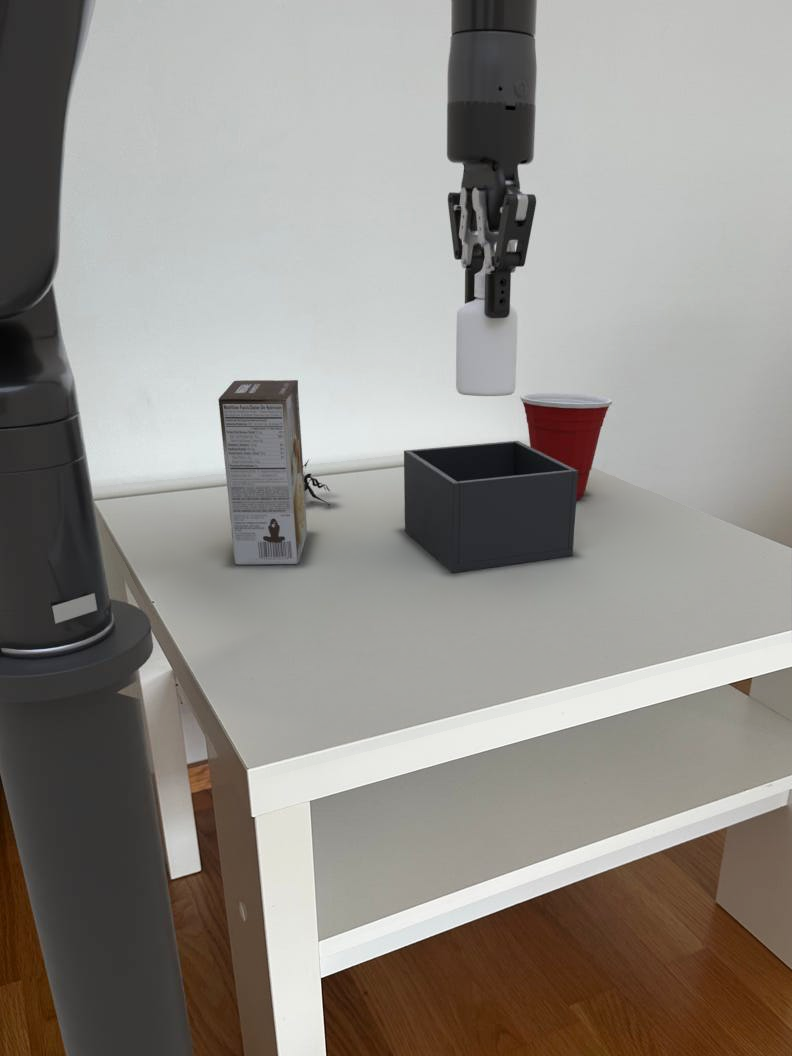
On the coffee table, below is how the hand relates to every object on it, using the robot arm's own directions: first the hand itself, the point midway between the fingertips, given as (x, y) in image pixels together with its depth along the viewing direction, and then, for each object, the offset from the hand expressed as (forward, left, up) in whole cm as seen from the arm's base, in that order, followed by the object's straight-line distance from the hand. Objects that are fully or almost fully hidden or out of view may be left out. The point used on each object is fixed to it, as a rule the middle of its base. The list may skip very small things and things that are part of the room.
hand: (486, 313), depth 86 cm
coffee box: (-20, +7, -23) cm, 31 cm away
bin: (+1, +1, -23) cm, 23 cm away
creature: (-13, +22, -23) cm, 35 cm away
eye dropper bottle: (0, 0, -7) cm, 7 cm away
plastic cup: (+17, +14, -23) cm, 32 cm away
